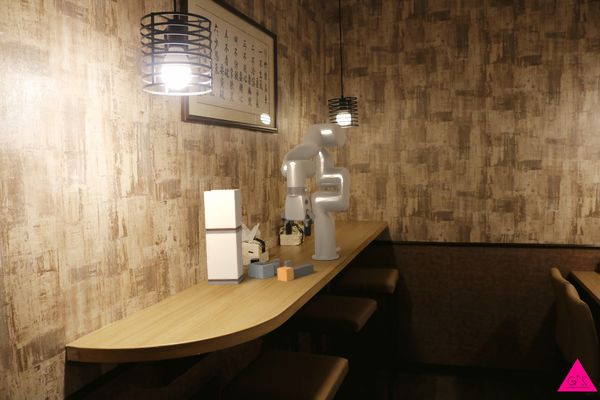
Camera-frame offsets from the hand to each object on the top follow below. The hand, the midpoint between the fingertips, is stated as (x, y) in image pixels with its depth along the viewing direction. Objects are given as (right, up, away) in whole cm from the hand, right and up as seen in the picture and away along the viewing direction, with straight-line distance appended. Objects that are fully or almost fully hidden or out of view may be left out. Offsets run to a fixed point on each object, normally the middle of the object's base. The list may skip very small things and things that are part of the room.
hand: (298, 235), depth 202 cm
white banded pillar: (-28, -18, -5) cm, 33 cm away
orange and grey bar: (-1, -16, 0) cm, 16 cm away
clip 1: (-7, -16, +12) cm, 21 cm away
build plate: (-19, -16, +20) cm, 32 cm away
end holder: (-14, -17, +3) cm, 22 cm away
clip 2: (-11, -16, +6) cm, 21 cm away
